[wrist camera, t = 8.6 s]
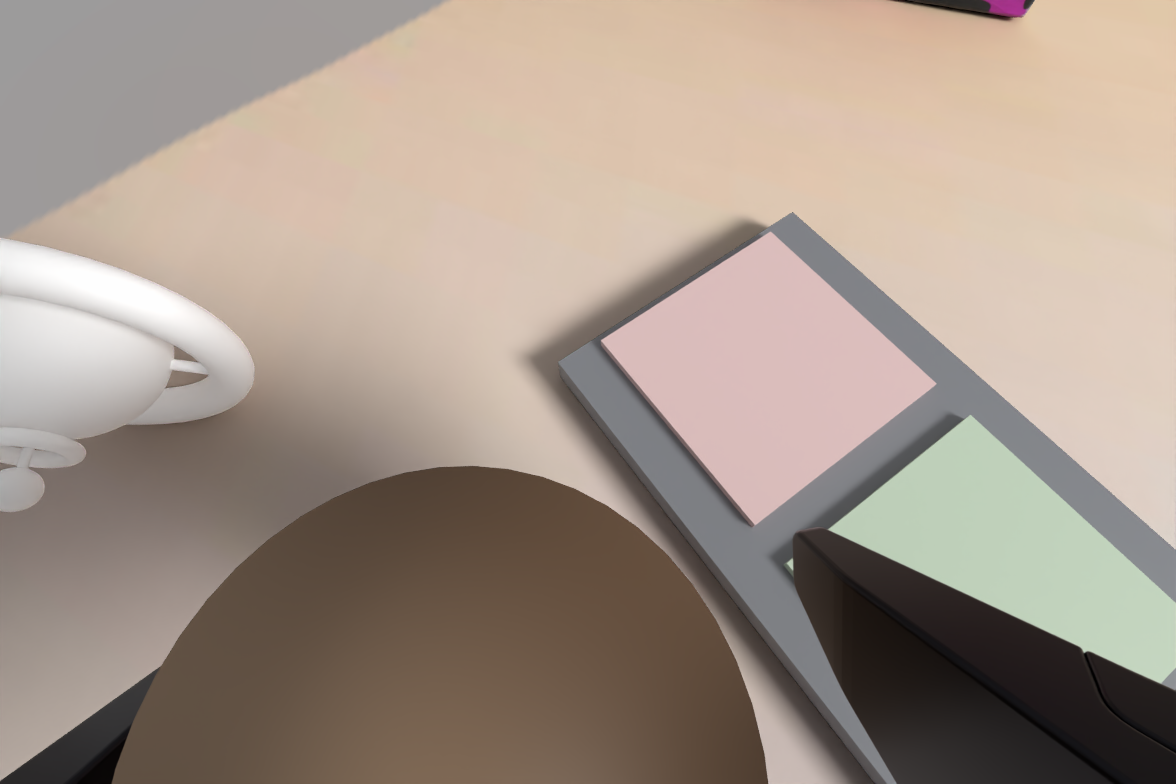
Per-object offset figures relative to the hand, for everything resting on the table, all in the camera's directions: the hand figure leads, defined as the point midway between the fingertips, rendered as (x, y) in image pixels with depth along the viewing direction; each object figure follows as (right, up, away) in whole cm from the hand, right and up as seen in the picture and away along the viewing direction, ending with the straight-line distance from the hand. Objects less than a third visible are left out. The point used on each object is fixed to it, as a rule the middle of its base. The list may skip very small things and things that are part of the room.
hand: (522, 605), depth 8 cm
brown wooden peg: (0, -4, +6) cm, 7 cm away
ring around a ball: (-11, +2, +9) cm, 14 cm away
